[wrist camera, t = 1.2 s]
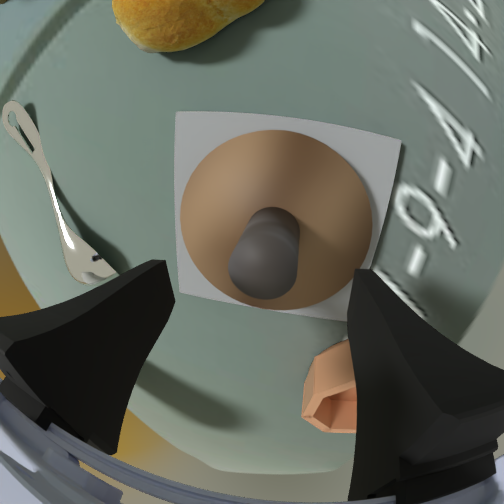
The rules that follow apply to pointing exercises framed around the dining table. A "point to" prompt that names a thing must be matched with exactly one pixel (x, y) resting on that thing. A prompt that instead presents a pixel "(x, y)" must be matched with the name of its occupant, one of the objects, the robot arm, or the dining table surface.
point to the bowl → (331, 391)
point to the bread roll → (176, 21)
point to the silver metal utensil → (73, 247)
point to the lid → (276, 220)
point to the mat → (335, 136)
